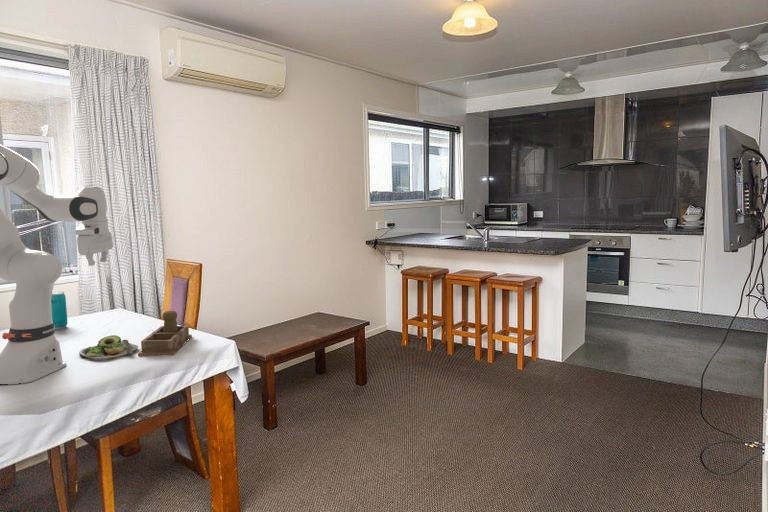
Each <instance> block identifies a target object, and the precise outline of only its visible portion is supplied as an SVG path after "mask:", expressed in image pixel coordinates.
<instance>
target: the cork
mask: <svg viewBox="0 0 768 512" xmlns="http://www.w3.org/2000/svg"><path fill="white" fill-rule="evenodd" d="M177 319H178V312H176V311H175V310H167V311H166V310H165V311H164V312H163V313H162V320H164V321H163V326H164V330H163V333H173V332H178V327H177V326H178V323H177Z"/></svg>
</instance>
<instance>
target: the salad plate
mask: <svg viewBox="0 0 768 512" xmlns="http://www.w3.org/2000/svg"><path fill="white" fill-rule="evenodd" d="M138 347H139V346H138V344H134V343H131V342H129V340H128V339H121V337H120V336H119V335H108V336H105V337H102V338H101V339H100V340H98V341H97V345H94V346H89V347H85V348H83V349H81V350H79V355H80V357H82V358H83V359H88V360H92V359H93V360H92V361H110V359H111V360H115V358H116V359H119V358H122V357H126V356H129V355H131V354H132V355H133V352H135V351H136V350H137V349H138ZM102 355H104V356H102ZM108 355H110V356H108ZM97 356H98V357H97Z"/></svg>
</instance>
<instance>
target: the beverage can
mask: <svg viewBox="0 0 768 512" xmlns="http://www.w3.org/2000/svg"><path fill="white" fill-rule="evenodd" d="M51 311H52V322H54V326H55V330H62V329H66V328H67V326H68V323H69V322H68V313H67V312H68V311H67V299H66V295H65V292H64V291H52V296H51Z"/></svg>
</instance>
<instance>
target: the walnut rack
mask: <svg viewBox="0 0 768 512" xmlns="http://www.w3.org/2000/svg"><path fill="white" fill-rule="evenodd" d="M177 327H178V332H173V333H163V330H164V325H160V326H159V327H158V328H157V329H156V330H154V331H153V332H151V333H150V334H148V336H146V337H145V338H144V339H141V340H140V345H141V350H140V351H139V352H138V353H137V356H138V357H154V356H155V357H156V356H157V357H159V356H161V357H162V355H172V356H175V355H176V354H177V352H179V351H180V349H181V348H182V347H183V346H184V345H185V344H186V343H187V342H188V341H189V340H190V338H191V337H193V335H192V334H190V331H189V327H190V326H189V325H177ZM188 339H189V340H188ZM187 340H188V341H187ZM186 341H187V342H186ZM185 342H186V343H185ZM184 343H185V344H184ZM183 344H184V345H183ZM182 345H183V346H182ZM181 346H182V347H181Z"/></svg>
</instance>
